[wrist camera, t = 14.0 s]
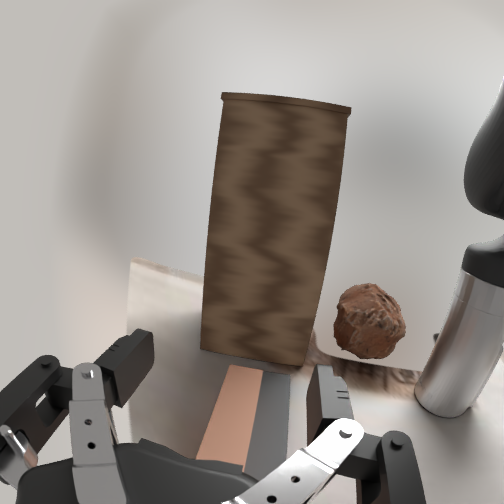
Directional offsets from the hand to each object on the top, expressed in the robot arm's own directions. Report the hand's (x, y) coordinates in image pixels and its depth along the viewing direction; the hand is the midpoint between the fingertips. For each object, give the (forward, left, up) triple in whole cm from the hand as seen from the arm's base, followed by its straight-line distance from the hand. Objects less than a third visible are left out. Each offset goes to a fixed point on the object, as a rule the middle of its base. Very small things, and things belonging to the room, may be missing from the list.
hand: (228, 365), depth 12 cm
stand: (0, -27, -14) cm, 30 cm away
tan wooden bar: (0, -2, -13) cm, 14 cm away
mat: (-2, -8, -14) cm, 16 cm away
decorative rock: (-17, -27, -14) cm, 35 cm away
